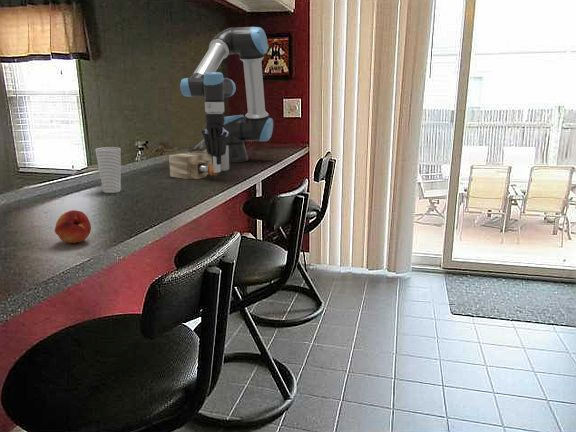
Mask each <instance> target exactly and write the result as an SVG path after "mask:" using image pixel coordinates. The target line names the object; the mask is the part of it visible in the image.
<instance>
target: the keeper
mask: <svg viewBox="0 0 576 432" xmlns="http://www.w3.org/2000/svg"><path fill="white" fill-rule="evenodd" d="M204 147H206V144H205V140H204V138H203V139H202V140H200V142H198V143H197V144H196V145H195V146H194V147H192V148H191V149H192V151H193V152H195V151H200V150H201V149H202V150H203V148H204Z"/></svg>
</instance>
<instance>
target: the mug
mask: <svg viewBox="0 0 576 432" xmlns="http://www.w3.org/2000/svg"><path fill="white" fill-rule="evenodd" d="M203 151H204V152H207V149H206V148H205V149H204V150H203ZM220 171H221V172H226V171H230V162H229V148H228V145H227V146H226V152H225V155H222V156H221V164H220Z"/></svg>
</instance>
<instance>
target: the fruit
mask: <svg viewBox="0 0 576 432" xmlns="http://www.w3.org/2000/svg"><path fill="white" fill-rule="evenodd" d="M91 230H92V225H91V222H90V219H89V217H88V215H86V214H85V213H84V212H83V211H80V210H75V209H73V210H68V211H66V212H64V213H63V214H61V215H60V216H59V217H58V219H57V221H56V223H55V227H54V233H55V234H56V235H57V237H58V238H59V239H60V240H61V241H62V242H65V243H68V244H77V242H78V243H80V242H83V241H84V240H86V239H87V238H88V237H89V235H90V234H91V232H92V231H91Z"/></svg>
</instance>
